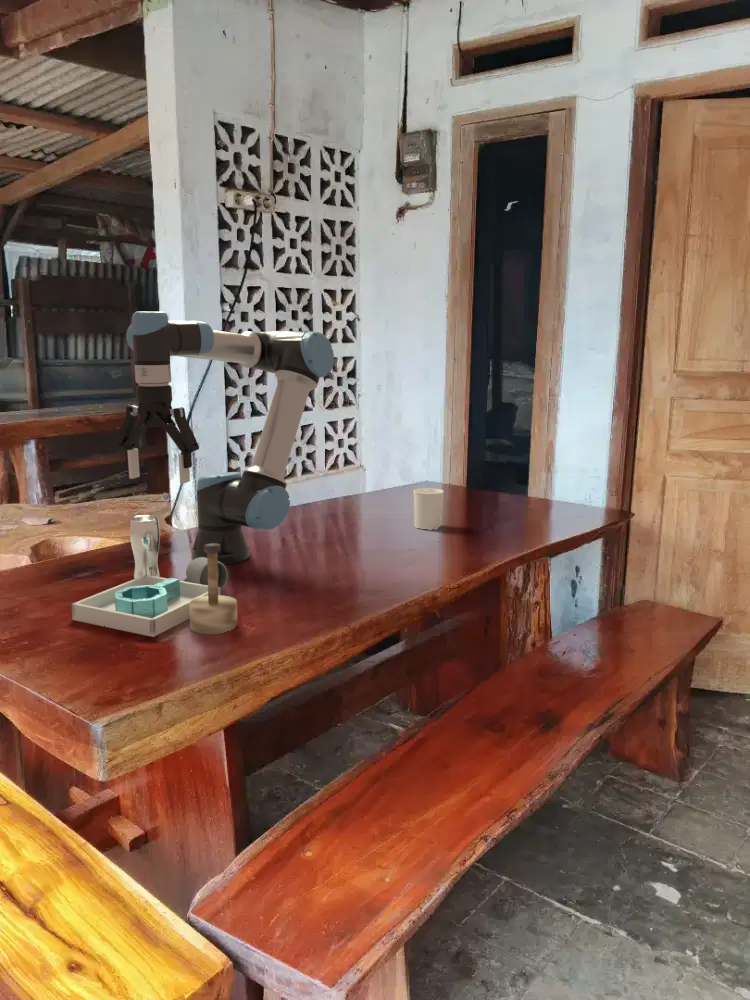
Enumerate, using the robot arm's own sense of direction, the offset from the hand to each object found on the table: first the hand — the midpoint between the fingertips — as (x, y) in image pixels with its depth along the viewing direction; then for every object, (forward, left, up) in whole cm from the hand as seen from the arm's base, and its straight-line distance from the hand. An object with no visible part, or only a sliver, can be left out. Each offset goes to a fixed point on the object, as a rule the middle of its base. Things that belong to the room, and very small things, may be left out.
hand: (159, 480), depth 172 cm
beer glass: (-9, -12, -27) cm, 31 cm away
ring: (+9, +4, -26) cm, 28 cm away
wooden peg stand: (+11, +22, -27) cm, 36 cm away
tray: (+10, +4, -27) cm, 29 cm away
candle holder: (-92, +32, -27) cm, 101 cm away
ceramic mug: (-7, +6, -27) cm, 29 cm away
